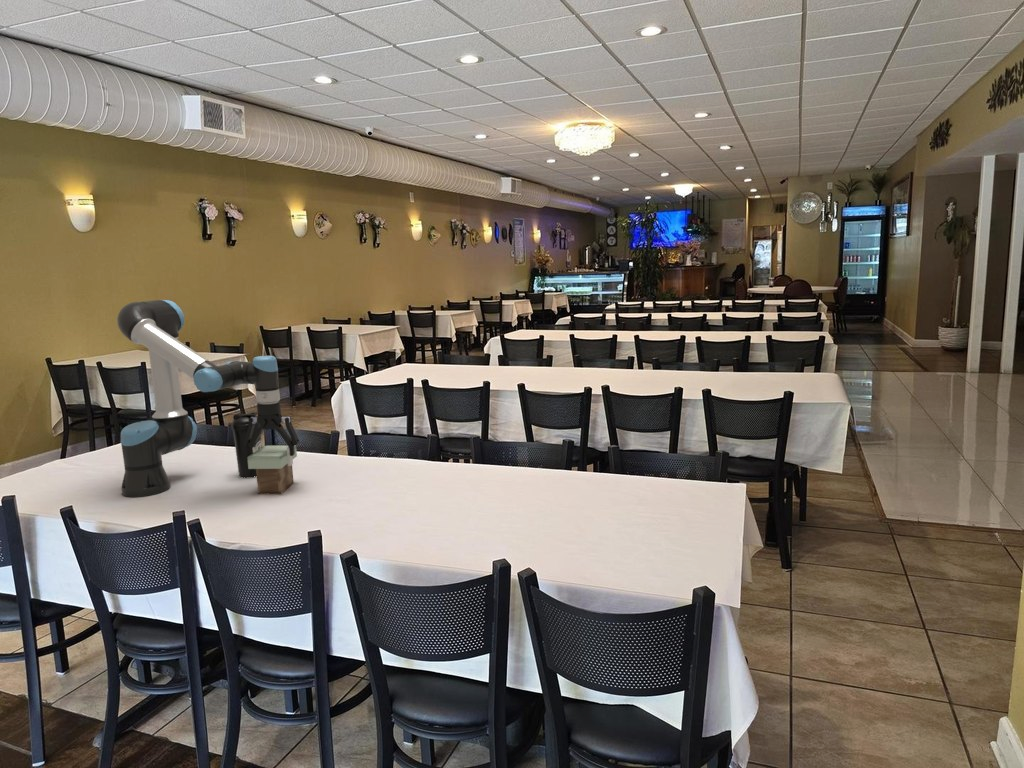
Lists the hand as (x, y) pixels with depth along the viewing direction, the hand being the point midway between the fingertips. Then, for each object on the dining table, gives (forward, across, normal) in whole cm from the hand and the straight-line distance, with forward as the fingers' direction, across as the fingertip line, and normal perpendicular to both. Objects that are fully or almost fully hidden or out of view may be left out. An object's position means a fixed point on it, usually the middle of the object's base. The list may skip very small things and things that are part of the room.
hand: (273, 465), depth 243 cm
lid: (-1, 0, 0) cm, 1 cm away
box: (+8, 0, 0) cm, 8 cm away
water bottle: (+9, -16, +17) cm, 25 cm away
